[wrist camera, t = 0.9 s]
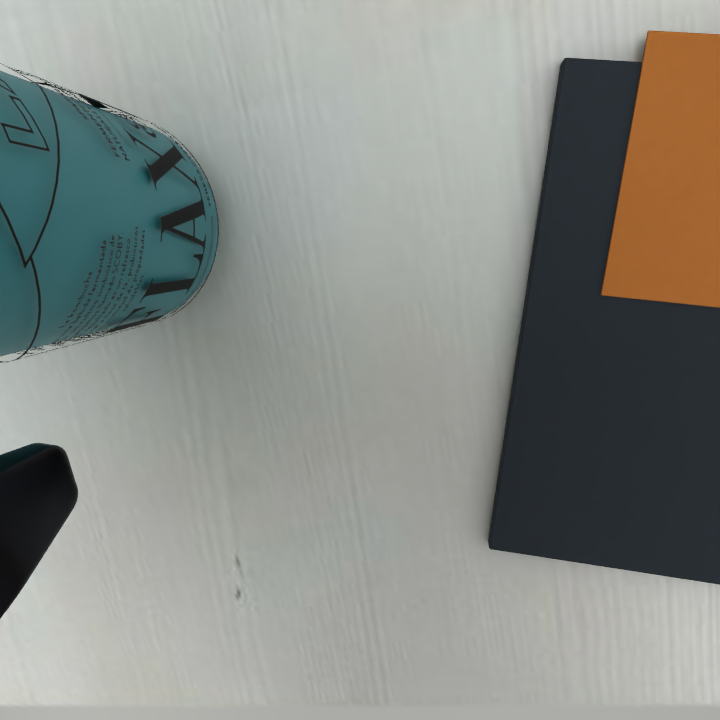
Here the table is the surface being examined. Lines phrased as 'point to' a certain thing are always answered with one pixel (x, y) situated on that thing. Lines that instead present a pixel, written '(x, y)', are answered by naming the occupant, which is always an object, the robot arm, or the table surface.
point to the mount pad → (623, 324)
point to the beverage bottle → (93, 219)
